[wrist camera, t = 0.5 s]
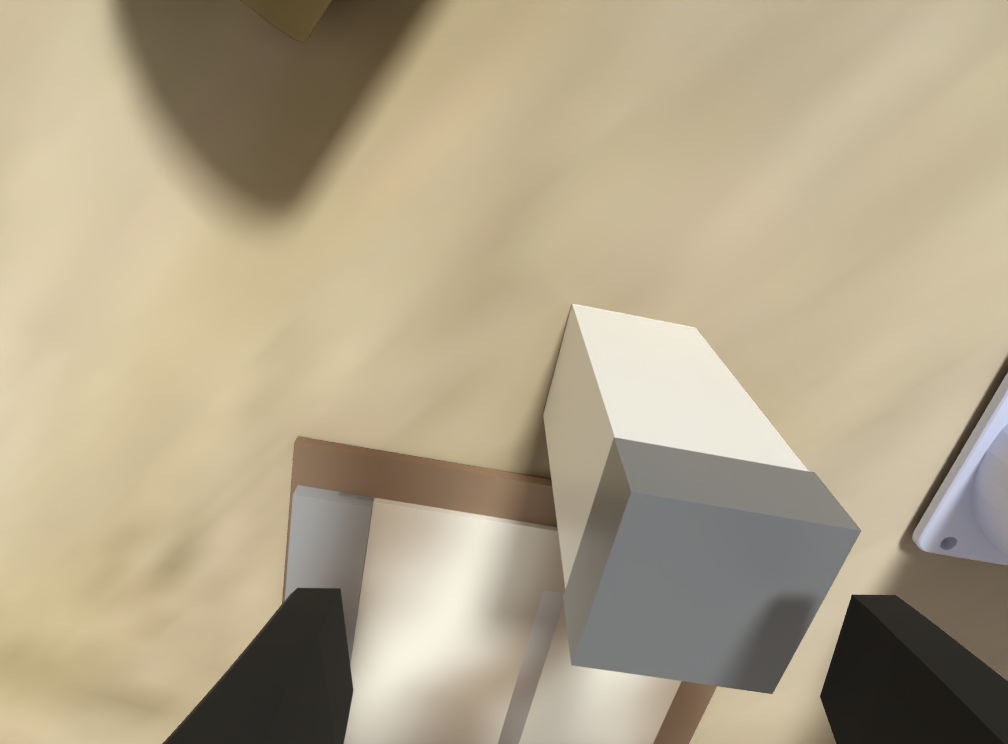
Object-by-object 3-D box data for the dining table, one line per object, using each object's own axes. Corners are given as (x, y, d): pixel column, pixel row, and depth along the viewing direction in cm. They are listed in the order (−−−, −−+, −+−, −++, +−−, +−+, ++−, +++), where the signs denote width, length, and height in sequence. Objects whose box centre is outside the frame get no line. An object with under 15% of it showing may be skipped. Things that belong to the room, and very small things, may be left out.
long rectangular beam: (697, 326, 18) (861, 530, 10) (658, 436, 20) (772, 693, 11) (571, 301, 18) (631, 491, 9) (541, 415, 19) (570, 665, 11)
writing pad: (789, 519, 21) (801, 537, 20) (634, 841, 28) (638, 864, 27) (298, 436, 19) (289, 452, 19) (269, 797, 27) (262, 820, 26)
